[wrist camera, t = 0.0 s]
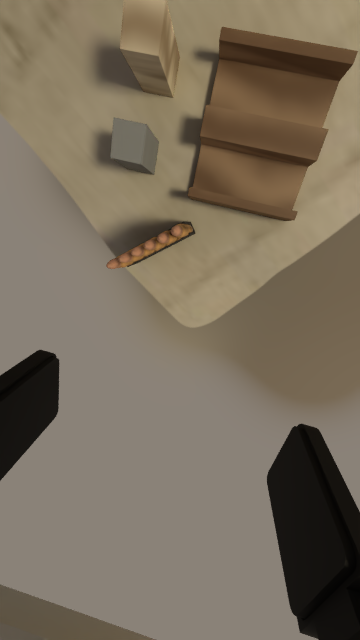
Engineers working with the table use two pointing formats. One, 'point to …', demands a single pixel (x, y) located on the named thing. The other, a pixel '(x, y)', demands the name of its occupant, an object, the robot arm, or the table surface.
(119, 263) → the ammunition clip
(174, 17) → the table surface
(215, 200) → the slot rack
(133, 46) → the birch block
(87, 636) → the robot arm
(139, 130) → the rubber block
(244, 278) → the table surface
